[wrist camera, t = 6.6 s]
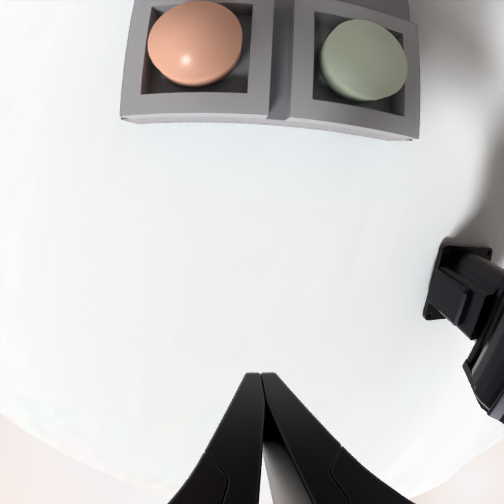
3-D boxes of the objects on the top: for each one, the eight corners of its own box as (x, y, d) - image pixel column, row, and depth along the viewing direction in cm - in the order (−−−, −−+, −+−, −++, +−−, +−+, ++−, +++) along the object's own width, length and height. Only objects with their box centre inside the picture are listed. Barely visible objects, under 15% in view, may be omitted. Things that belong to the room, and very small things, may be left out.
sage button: (390, 41, 12) (405, 32, 11) (390, 109, 14) (407, 106, 12) (318, 24, 12) (327, 11, 10) (316, 95, 13) (326, 88, 12)
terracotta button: (243, 15, 12) (245, 1, 10) (238, 88, 13) (239, 80, 11) (161, 17, 12) (153, 3, 10) (153, 89, 13) (143, 81, 11)
